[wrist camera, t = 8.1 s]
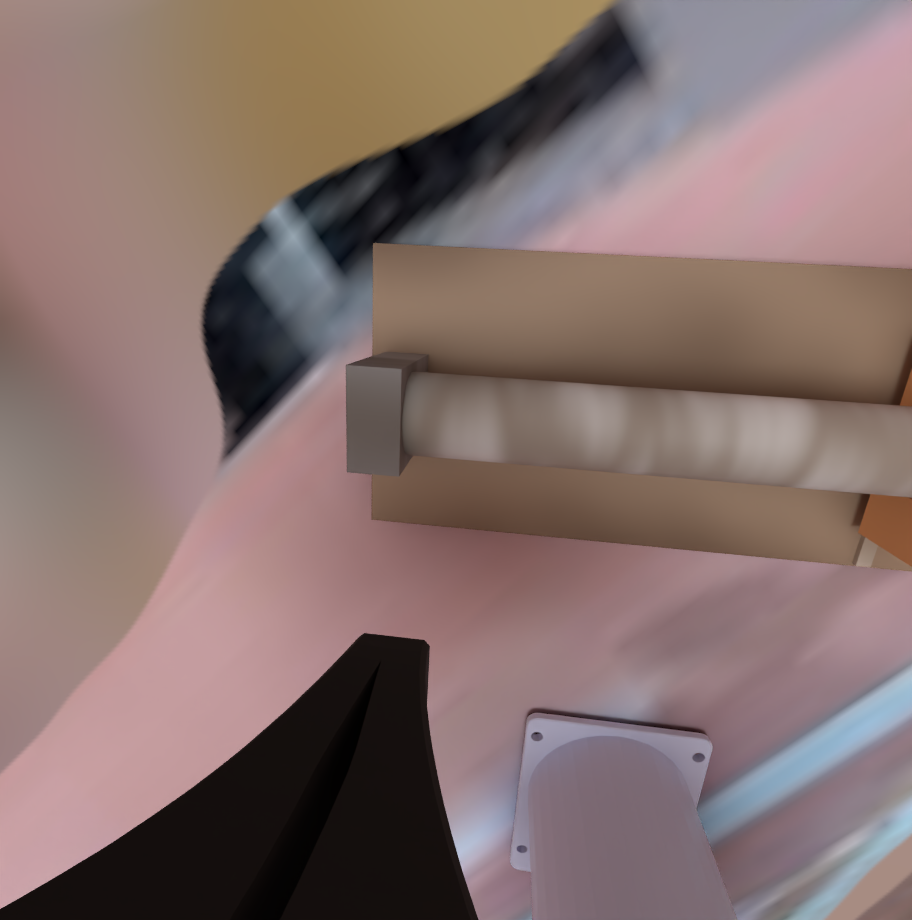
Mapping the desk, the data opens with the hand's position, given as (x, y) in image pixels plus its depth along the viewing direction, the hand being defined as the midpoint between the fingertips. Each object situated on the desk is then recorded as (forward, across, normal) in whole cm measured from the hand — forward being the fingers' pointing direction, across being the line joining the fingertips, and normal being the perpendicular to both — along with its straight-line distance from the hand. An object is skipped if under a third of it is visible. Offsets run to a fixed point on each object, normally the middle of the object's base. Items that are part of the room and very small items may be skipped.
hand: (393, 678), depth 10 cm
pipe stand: (+10, -10, -4) cm, 15 cm away
